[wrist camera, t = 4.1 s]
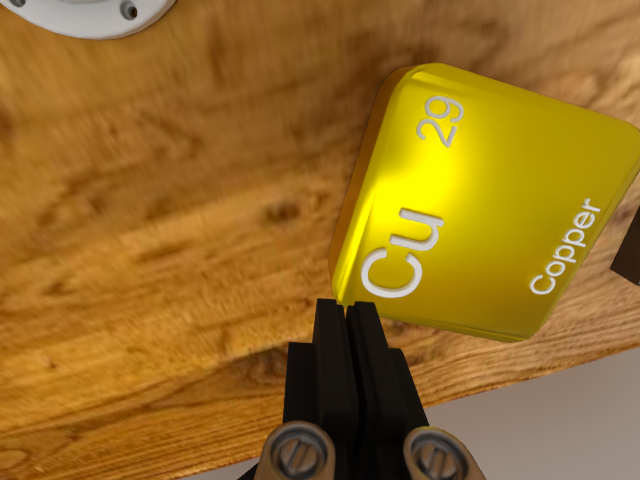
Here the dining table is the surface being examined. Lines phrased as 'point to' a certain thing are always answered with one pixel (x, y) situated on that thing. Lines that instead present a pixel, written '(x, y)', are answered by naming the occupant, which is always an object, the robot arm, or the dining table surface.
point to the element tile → (475, 202)
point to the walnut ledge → (630, 254)
